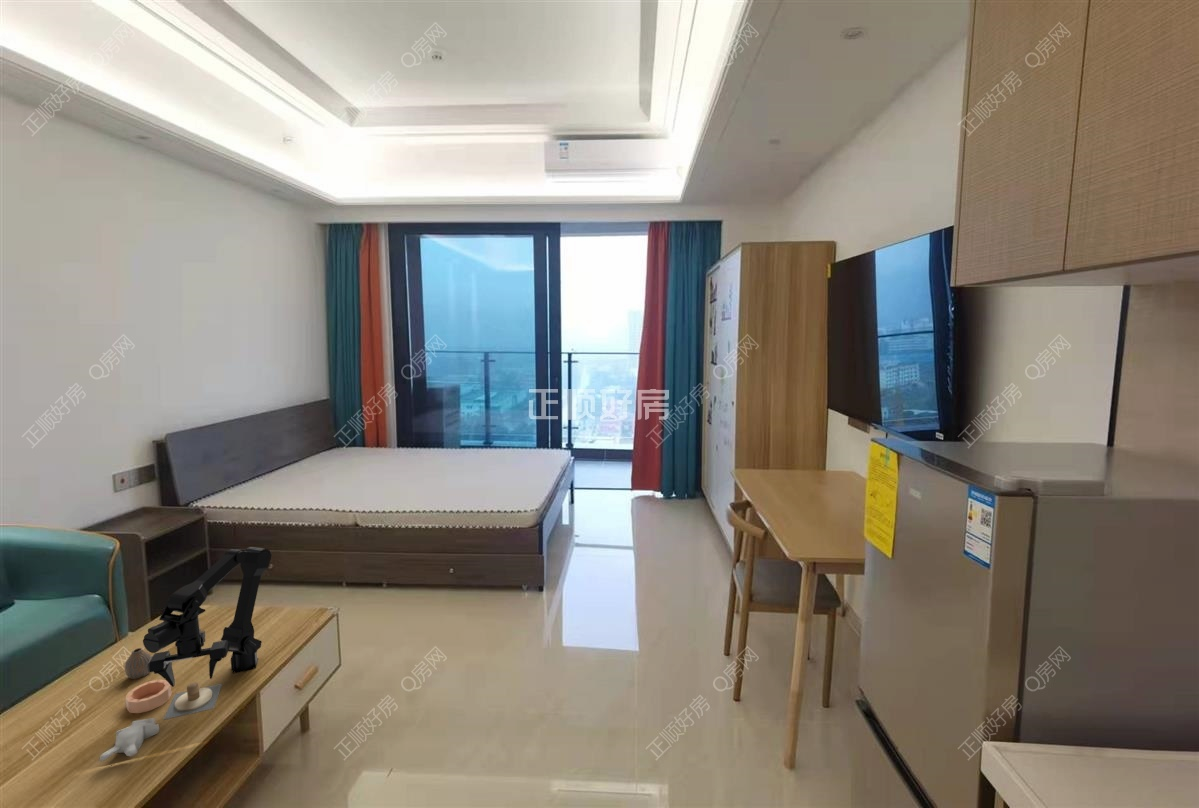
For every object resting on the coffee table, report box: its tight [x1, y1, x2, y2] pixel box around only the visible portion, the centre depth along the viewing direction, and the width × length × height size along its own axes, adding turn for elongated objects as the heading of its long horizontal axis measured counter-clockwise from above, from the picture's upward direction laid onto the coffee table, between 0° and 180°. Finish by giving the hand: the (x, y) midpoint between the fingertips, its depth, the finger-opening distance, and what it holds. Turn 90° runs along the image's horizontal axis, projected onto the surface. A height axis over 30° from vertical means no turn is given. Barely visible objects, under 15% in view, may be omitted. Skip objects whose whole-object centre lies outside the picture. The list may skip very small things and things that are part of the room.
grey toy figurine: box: [98, 717, 160, 762], centre depth 146 cm, size 10×5×15 cm
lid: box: [175, 682, 213, 711], centre depth 163 cm, size 9×9×5 cm
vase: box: [124, 647, 152, 680], centre depth 175 cm, size 7×7×9 cm
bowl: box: [125, 679, 173, 714], centre depth 163 cm, size 10×10×4 cm
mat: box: [162, 683, 223, 721], centre depth 163 cm, size 12×12×1 cm
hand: (192, 681), depth 163 cm, fingers open, 9 cm apart
